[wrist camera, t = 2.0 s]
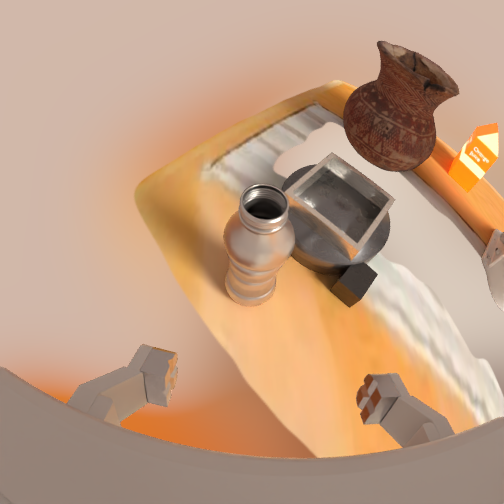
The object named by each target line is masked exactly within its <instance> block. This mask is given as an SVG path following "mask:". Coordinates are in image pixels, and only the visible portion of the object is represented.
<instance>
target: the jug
mask: <svg viewBox="0 0 504 504" xmlns="http://www.w3.org/2000/svg"><path fill="white" fill-rule="evenodd" d="M377 46H378V49H379V51H380V58H381V70H380V73H379V76H378V79H377V80H375V81H372V82H369V83H367V84H364V85H362V86H360V87H359V88H357V89H356V90H355V91H354V92H353V93H352V94H351V96H350V97H349V99H348V101H347V103H346V105H345V109H344V116H343V122H344V129H345V132H346V135H347V138H348V140H349V142H350V143H351V145H352V146H353V147H354V149H355V150H356V151H357V153H358V154H360V155H361V156H362V157H363V158H364V159H365V160H367V161H368V162H370V163H371V164H373V165H375V166H377V167H379V168H381V169H383V170H387V171H395V172H401V171H408V170H412V169H414V168H416V167H417V166H419V165H420V164H422V163H423V162H424V161H425V160H426V159H427V158H428V157H429V156H430V154H431V153H432V151H433V148H434V146H435V141H436V129H435V123H434V117H433V112H434V110H435V109H436V108H437V107H438V105H440V104H441V103H442V102H444V101H446V100H447V99H449V98H451V97H453V96H456V95H458V94H459V89H458V85H457V84H456V83H455V82H454V80H453V79H452V78H451V77H450V76H449V75H448V74H446V73H445V71H443V70H442V68H441V67H440V66H438V65H437V64H435V63H434V62H432V61H431V60H429V59H428V58H426V57H424V56H422V55H421V54H419V53H416V52H414V51H410V50H408V49H406V48H403V47H401V46H398V45H392V44H390V43H388V42H385V41H378V42H377Z"/></svg>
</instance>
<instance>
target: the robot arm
mask: <svg viewBox="0 0 504 504" xmlns="http://www.w3.org/2000/svg"><path fill="white" fill-rule="evenodd" d="M482 263H483V266H484V268H485V271H486V274H487V280H488V284H489V288H490V291H491V294H492V297H493V299H494V301H495V303H496V304H497V306H498V307H499V308H500V309H501V310H502V311H503V312H504V232H503V233H502V232H501V231H499V230H498V229H495V230H494V231H493V233H492V236H491V238H490V240H489V243H488V245H487V247H486V249H485V252H484V254H483V256H482ZM177 359H178V358H177V353H175V352H171V351H167V350H164V349H160V348H156V347H151V346H148V345H145V344H142V345H141V346H140V347H139V349H138V350H137V352H136V354H135V355H134V357H133V359H132V360H131V362H130V363H129V365H128V367H122V368H120V369H117V370H115V371H113V372H111V373H108V374H106V375H103V376H101V377H98V378H96V379H94V380H91V381H89V382H86V383H84V384H81V385H79V387H78V388H77V390H76V391H75V392H74V394H73V396H72V397H71V398H70V400H69V401H68V403H67V404H65V403H63V402H61V401H60V400H58V399H56V398H54V397H52V396H50V395H48V394H46V393H45V392H43V391H41V390H39V389H37V388H36V387H34V386H32V385H30V384H29V383H28V382H26V381H24V380H23V379H21V378H19V377H18V376H17V375H15V374H14V373H12V372H11V371H9V370H8V369H6V368H4V367H0V504H504V417H498V418H496V419H494V420H491V421H489V422H487V423H484V424H482V425H479V426H477V427H474V428H472V429H469V430H466V431H463V432H460V433H457V434H455V433H454V432H453V430H452V428H451V426H450V424H449V422H448V420H447V419H446V418H445V417H444V416H442V415H441V414H439V413H438V412H436V411H435V410H433V409H432V408H430V407H429V406H427V405H426V404H424V403H423V402H421V401H420V400H418V399H417V398H415V397H414V396H410V395H409V393H408V391H407V389H406V387H405V386H404V384H403V382H402V380H401V378H400V376H399V375H398V374H397V373H387V374H368V375H367V376H366V377H365V379H364V383H365V384H364V385H363V386H361V387H360V388H359V390H358V392H357V397H356V401H357V405H358V407H359V408H360V409H361V410H362V411H361V413H360V415H361V418H362V421H363V424H380V425H381V426H382V427H383V428H384V429H385V430H386V431H387V432H388V433H389V434H390V435H391V436H392V437H393V438H394V439H395V440H396V441H397V442H398V443H399V444H400V445H401V446H402V447H403V448H401V449H396V450H390V451H384V452H378V453H371V454H363V455H354V456H343V457H328V458H276V457H260V456H248V455H239V454H231V453H224V452H217V451H211V450H205V449H200V448H195V447H190V446H186V445H181V444H177V443H172V442H169V441H164V440H161V439H157V438H154V437H150V436H147V435H144V434H140V433H137V432H134V431H131V430H128V429H125V428H122V427H121V424H120V422H121V421H122V420H124V419H125V418H127V417H128V416H130V415H131V414H133V413H134V412H136V411H137V410H138V409H140V408H141V407H143V406H144V405H145V404H147V402H148V403H152V404H156V405H160V406H165V407H167V406H168V403H169V401H170V398H171V390H172V389H174V387H175V384H176V380H177V373H178V368H177V366H176V363H177Z"/></svg>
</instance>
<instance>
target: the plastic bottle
mask: <svg viewBox="0 0 504 504" xmlns="http://www.w3.org/2000/svg"><path fill="white" fill-rule="evenodd" d="M288 210H289V200H288V198H287V196H286V194H285V193H284V192H283V191H282V190H281V189H279V188H278V187H276V186H273V185H270V184H256V185H252V186H250V187H248V188H247V189H246V190H245V191H244V192H243V193H242V196H241V198H240V206H239V210H238V211H237V212H235V213H234V214H233V215H232V216H231V218H230V219H229V221H228V223H227V224H226V227H225V229H224V235H223V238H224V245H225V249H226V252H227V254H228V257H229V262H230V265H229V269H228V271H227V274H226V277H225V287H226V290H227V292H228V294H229V295H230V297H231V298H232V299H233V300H234V301H235V302H236V303H238V304H240V305H242V306H246V307H255V306H258V305H261V304H263V303H265V302H266V301H267V300H268V299H270V297H271V296H272V295H273V293H274V291H275V287H276V274H277V272H278V270H279V268H280V267H281V266H282V265H283V264H284V263H285V262H286V261H287V259H288V258H289V257H290V255H291V253H292V251H293V249H294V246H295V234H294V229H293V226H292V224H291V222H290V220H289V219H288Z"/></svg>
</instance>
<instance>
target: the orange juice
mask: <svg viewBox="0 0 504 504" xmlns="http://www.w3.org/2000/svg"><path fill="white" fill-rule="evenodd" d="M497 158H498V126H497V123H494V124H489V125H484V126H479V127H477V128H476V129H475V131H474V132H473V134H472V135H471V137H470V138H469V140H468V141H467V142H466V143H465V145H464V146H463V148H462V149H461V151H460V152H459V153H458V155H457V156H456V157H455V159H454V160H453V162H452V164H451V167H450V170H449V173H448V174H449V175H450V176H451V177H452V178H453V179H454V180H455V181H456V182H457V183H458V184H459V185H460V186H461V187H462V188H463V189H464V190H465V191H466V192H467V193H468V192H469V191H470V190H471V189H472V187H473V186H474V185H475V184H476V183H477V182H478V181H479V180H480V179H481V178H482V176H483V175H484V174H485V173H486V171H487V170H488V169H489V168H490V167H491V166H492V164H493V163H494V162H495V161H496V159H497Z"/></svg>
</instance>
